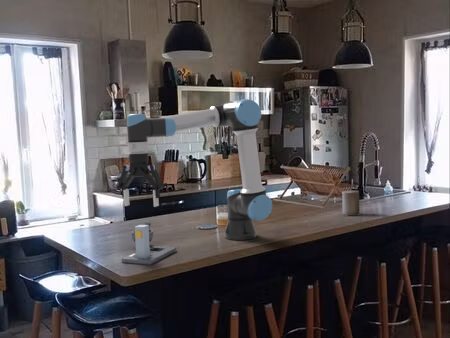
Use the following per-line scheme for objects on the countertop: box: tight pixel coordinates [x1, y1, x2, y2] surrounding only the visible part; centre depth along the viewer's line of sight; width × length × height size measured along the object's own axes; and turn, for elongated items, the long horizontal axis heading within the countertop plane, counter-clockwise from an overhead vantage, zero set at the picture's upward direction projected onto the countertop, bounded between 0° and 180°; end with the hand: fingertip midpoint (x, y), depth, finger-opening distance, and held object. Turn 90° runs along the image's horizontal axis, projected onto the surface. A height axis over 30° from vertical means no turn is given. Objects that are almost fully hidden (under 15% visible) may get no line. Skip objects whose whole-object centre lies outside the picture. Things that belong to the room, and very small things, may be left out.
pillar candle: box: [341, 189, 361, 216], centre depth 282 cm, size 10×10×15 cm
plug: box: [134, 224, 151, 258], centre depth 195 cm, size 4×5×14 cm
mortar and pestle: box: [131, 220, 154, 246], centre depth 219 cm, size 11×9×12 cm
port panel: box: [121, 245, 177, 266], centre depth 201 cm, size 22×13×2 cm, turn 158°
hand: (141, 205), depth 194 cm, fingers open, 13 cm apart
